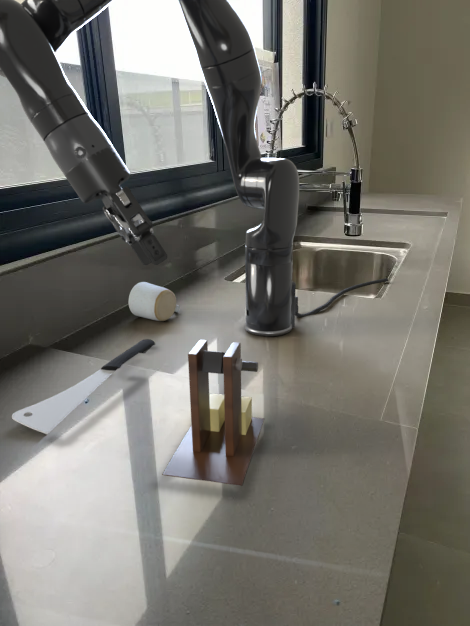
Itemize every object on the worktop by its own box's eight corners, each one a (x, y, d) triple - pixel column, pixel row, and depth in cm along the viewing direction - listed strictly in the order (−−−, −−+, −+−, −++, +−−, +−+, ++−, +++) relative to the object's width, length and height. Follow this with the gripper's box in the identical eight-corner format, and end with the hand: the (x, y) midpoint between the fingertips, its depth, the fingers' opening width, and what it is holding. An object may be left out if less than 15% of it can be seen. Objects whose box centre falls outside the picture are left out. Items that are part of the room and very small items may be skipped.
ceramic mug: (157, 326, 103) (155, 290, 101) (128, 319, 108) (126, 285, 105) (188, 313, 112) (187, 280, 110) (161, 307, 116) (159, 275, 114)
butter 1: (209, 414, 67) (208, 393, 66) (226, 416, 66) (226, 394, 65) (200, 430, 63) (199, 407, 62) (219, 432, 62) (218, 409, 61)
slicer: (199, 419, 68) (195, 324, 63) (264, 426, 66) (264, 329, 61) (162, 484, 55) (154, 370, 50) (242, 495, 53) (240, 378, 48)
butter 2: (234, 417, 66) (233, 395, 65) (251, 418, 65) (251, 397, 64) (226, 433, 62) (226, 410, 61) (245, 435, 62) (245, 412, 61)
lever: (214, 372, 68) (216, 355, 69) (257, 376, 67) (258, 358, 67) (185, 370, 56) (187, 349, 56) (237, 375, 54) (239, 353, 55)
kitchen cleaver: (65, 435, 63) (5, 413, 66) (66, 447, 63) (6, 424, 67) (184, 348, 90) (137, 335, 93) (183, 356, 90) (136, 343, 94)
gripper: (117, 132, 60) (189, 246, 64) (107, 156, 73) (167, 249, 78) (63, 163, 58) (141, 278, 62) (63, 182, 72) (127, 276, 76)
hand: (155, 262), depth 70 cm, fingers open, 8 cm apart
